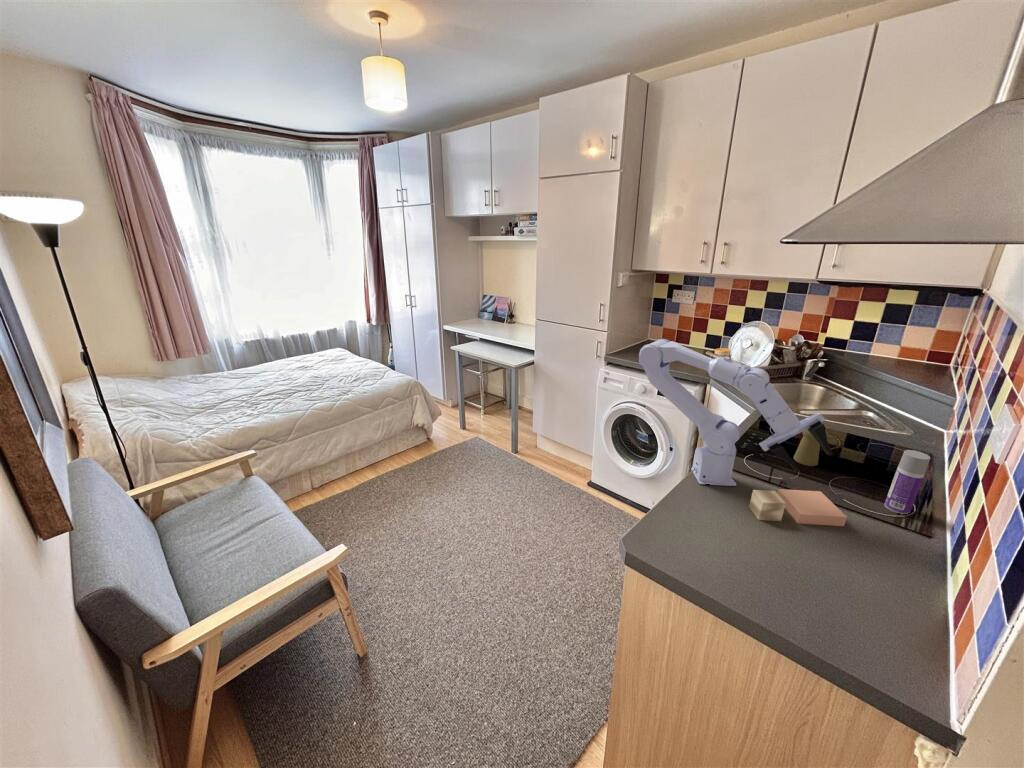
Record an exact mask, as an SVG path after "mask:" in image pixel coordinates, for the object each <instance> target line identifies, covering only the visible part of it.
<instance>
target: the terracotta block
mask: <svg viewBox="0 0 1024 768" xmlns="http://www.w3.org/2000/svg"><path fill="white" fill-rule="evenodd" d="M776 493H777V494H778V495H779V496H780V497H781V499H782V500H783V501H784V502H785V503H786V505H785V508H784V510H786V511H787V512H788V514H789V515H790V516H791V517H792V518H793V519H794V520H795V522H796V523H797V524H800V525H801V524H803V525H819V526H833V527H834V526H835V527H845V524H846V521H847V519H848V516H847V515H846V514H845V513H843V512H842V510H841V509H839V507H837V506H836V505H835V504H834V503H833V502H832V501H831V500H830V499H829V498H828V497H827V496H826V494H824V493H823V492H822V491H820V490H803V489H800V490H799V489H783V488H778V489H777V492H776Z"/></svg>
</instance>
